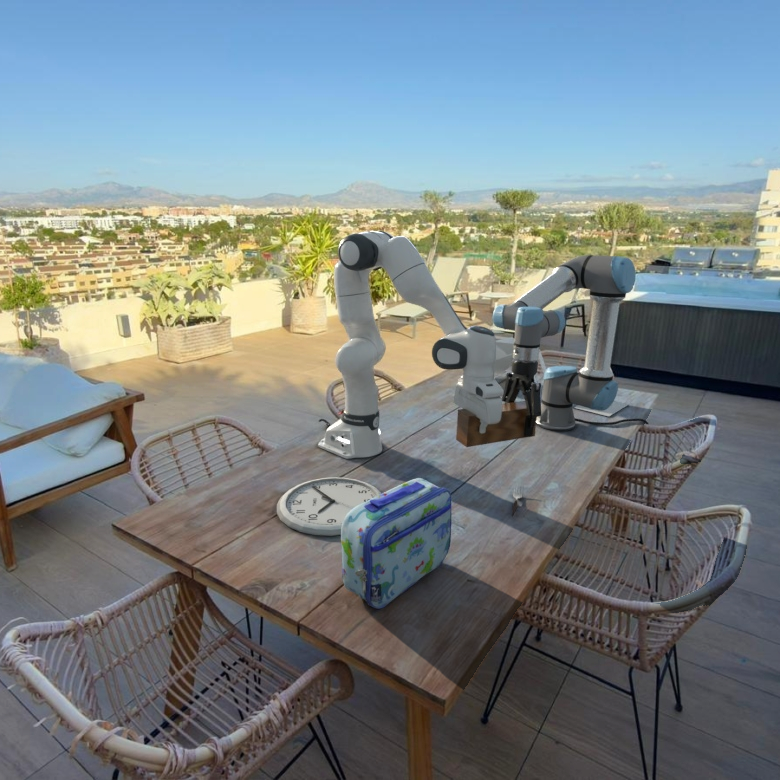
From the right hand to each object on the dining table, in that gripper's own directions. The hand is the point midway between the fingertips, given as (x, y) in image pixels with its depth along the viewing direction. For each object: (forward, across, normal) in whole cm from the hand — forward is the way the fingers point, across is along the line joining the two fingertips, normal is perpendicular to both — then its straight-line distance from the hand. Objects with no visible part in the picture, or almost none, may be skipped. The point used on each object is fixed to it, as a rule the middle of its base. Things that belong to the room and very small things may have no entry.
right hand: (518, 430), depth 162 cm
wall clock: (+13, 0, -60) cm, 62 cm away
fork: (+13, +18, -13) cm, 26 cm away
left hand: (-3, 0, -16) cm, 16 cm away
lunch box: (+13, +36, -56) cm, 68 cm away
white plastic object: (+13, -82, +53) cm, 99 cm away
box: (+1, 0, -8) cm, 8 cm away
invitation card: (+13, -38, +73) cm, 83 cm away
